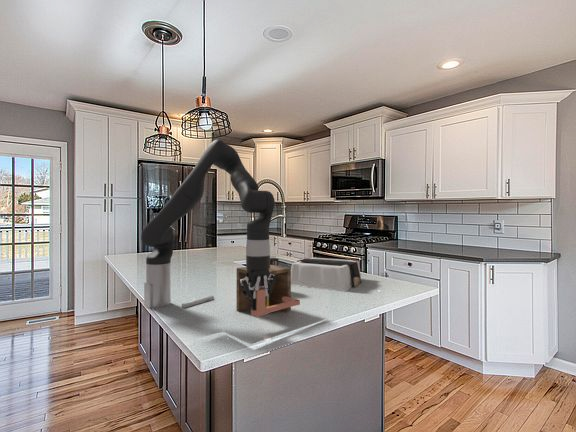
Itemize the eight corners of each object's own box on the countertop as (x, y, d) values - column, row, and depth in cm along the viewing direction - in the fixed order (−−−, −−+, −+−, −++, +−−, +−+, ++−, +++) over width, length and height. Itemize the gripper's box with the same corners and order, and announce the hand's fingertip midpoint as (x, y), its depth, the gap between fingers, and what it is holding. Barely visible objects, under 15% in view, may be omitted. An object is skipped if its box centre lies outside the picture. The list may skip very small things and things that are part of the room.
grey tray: (367, 282, 178) (367, 260, 178) (348, 296, 149) (348, 268, 149) (308, 277, 194) (308, 256, 194) (281, 287, 165) (281, 263, 165)
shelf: (259, 319, 113) (259, 272, 113) (236, 310, 123) (236, 268, 123) (290, 311, 124) (290, 268, 123) (267, 303, 134) (267, 264, 134)
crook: (257, 316, 100) (257, 290, 100) (241, 311, 106) (241, 286, 106) (301, 304, 114) (301, 281, 114) (285, 300, 120) (285, 278, 120)
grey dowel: (184, 308, 127) (184, 304, 127) (181, 308, 128) (181, 303, 128) (214, 299, 140) (214, 295, 141) (211, 299, 141) (211, 295, 141)
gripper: (247, 257, 95) (247, 316, 95) (282, 253, 105) (282, 306, 105) (232, 254, 101) (232, 310, 101) (267, 251, 110) (267, 302, 110)
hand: (258, 308), depth 103 cm, fingers closed on crook, 3 cm apart
